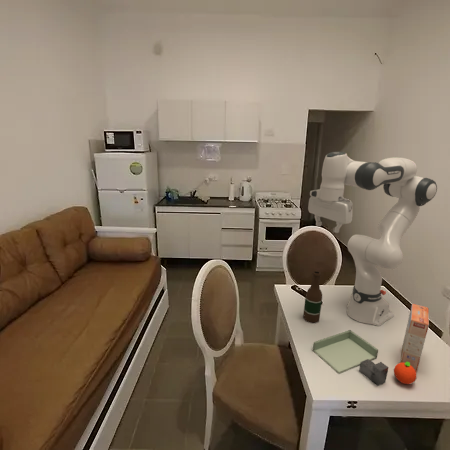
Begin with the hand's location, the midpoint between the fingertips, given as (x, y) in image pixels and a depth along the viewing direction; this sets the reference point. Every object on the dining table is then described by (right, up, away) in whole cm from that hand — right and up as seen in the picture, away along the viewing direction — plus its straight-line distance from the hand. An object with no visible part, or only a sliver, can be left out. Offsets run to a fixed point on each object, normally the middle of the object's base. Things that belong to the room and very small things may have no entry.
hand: (327, 228), depth 124 cm
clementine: (+23, -54, -13) cm, 60 cm away
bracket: (+12, -53, -12) cm, 56 cm away
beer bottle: (0, -43, +23) cm, 49 cm away
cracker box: (+31, -51, -3) cm, 60 cm away
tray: (+7, -50, -1) cm, 50 cm away
